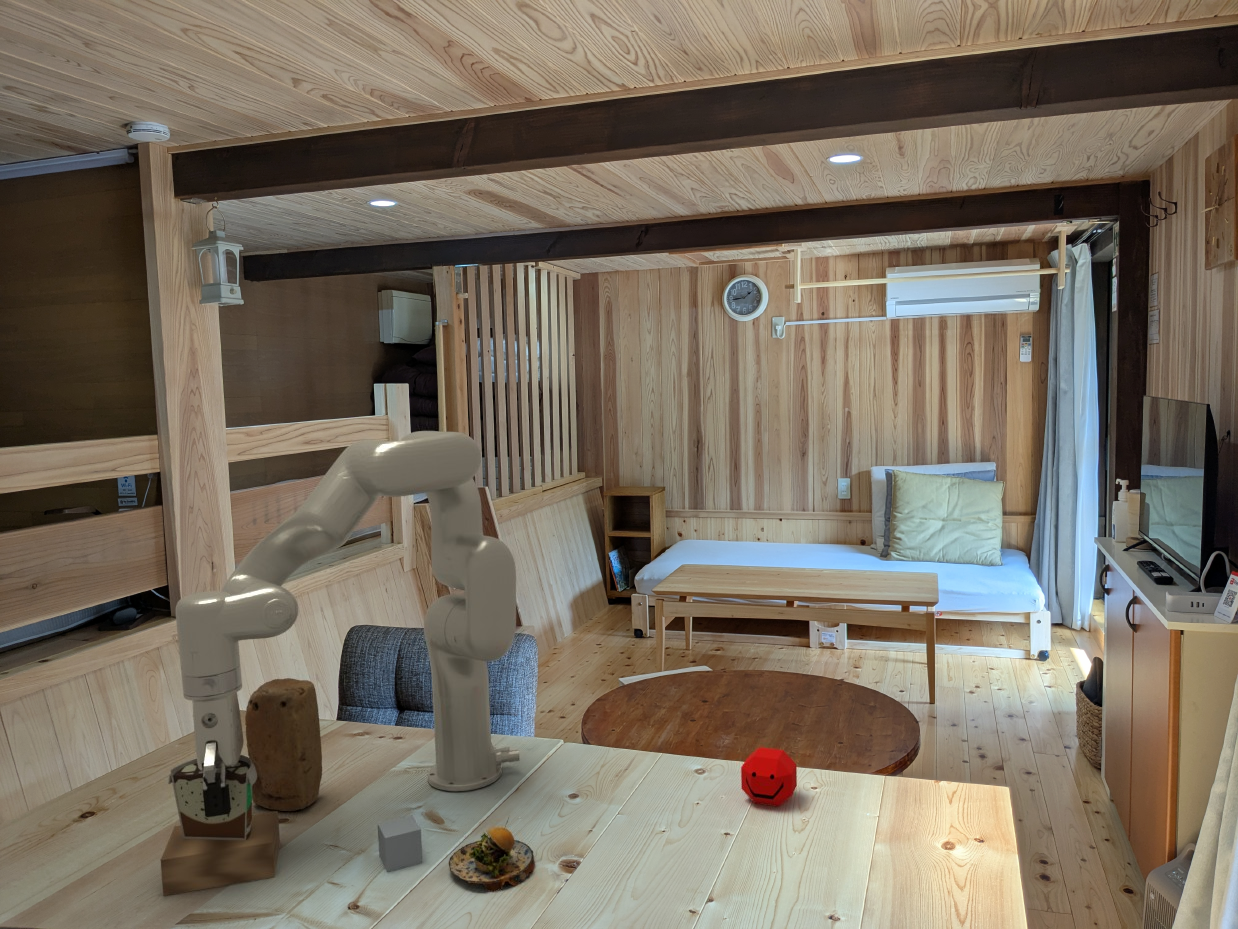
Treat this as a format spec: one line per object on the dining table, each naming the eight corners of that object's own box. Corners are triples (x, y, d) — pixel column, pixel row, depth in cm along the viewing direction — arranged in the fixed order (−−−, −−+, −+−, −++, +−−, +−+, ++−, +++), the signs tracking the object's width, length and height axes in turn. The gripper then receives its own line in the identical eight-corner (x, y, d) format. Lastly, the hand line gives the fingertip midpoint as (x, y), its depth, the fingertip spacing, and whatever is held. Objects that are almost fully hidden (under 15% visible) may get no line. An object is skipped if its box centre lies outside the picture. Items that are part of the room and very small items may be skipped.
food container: (277, 818, 132) (272, 752, 131) (256, 840, 126) (250, 771, 125) (198, 816, 133) (192, 751, 132) (173, 838, 127) (166, 770, 126)
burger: (459, 849, 132) (456, 800, 132) (539, 848, 132) (537, 798, 131) (439, 895, 120) (436, 841, 120) (528, 894, 120) (525, 840, 119)
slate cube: (413, 848, 133) (412, 815, 132) (422, 863, 128) (420, 829, 128) (379, 856, 131) (377, 823, 130) (387, 872, 126) (385, 838, 126)
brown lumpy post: (328, 795, 151) (321, 677, 149) (303, 816, 144) (295, 692, 142) (270, 791, 153) (262, 675, 152) (243, 811, 146) (234, 690, 145)
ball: (738, 807, 142) (737, 759, 141) (750, 786, 149) (749, 740, 149) (789, 814, 139) (788, 766, 138) (799, 792, 146) (798, 746, 146)
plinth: (280, 843, 135) (277, 810, 135) (274, 877, 126) (272, 842, 125) (177, 859, 131) (174, 826, 131) (163, 896, 122) (160, 860, 121)
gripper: (233, 697, 119) (244, 822, 121) (248, 660, 136) (257, 770, 137) (170, 706, 117) (183, 833, 119) (193, 666, 134) (204, 778, 135)
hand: (223, 799), depth 128 cm, fingers open, 9 cm apart
